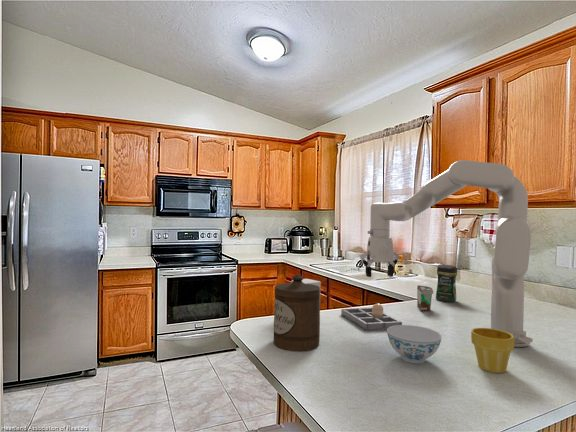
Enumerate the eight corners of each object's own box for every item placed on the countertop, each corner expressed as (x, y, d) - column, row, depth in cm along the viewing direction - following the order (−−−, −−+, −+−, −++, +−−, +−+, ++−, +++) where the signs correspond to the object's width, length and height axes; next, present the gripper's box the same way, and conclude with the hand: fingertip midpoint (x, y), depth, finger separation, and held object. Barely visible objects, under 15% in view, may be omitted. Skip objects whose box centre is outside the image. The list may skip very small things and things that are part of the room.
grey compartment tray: (401, 328, 133) (402, 321, 133) (365, 330, 129) (365, 323, 129) (373, 313, 154) (373, 307, 154) (341, 314, 150) (341, 308, 151)
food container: (435, 313, 158) (436, 290, 158) (421, 312, 159) (421, 289, 159) (430, 306, 170) (430, 285, 170) (416, 305, 171) (417, 285, 171)
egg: (385, 320, 141) (385, 304, 141) (375, 320, 140) (375, 305, 140) (379, 317, 145) (380, 302, 145) (369, 317, 144) (370, 302, 144)
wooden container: (267, 337, 119) (269, 272, 119) (308, 334, 124) (309, 270, 124) (282, 353, 105) (284, 279, 105) (327, 348, 110) (329, 277, 110)
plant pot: (465, 367, 98) (465, 332, 99) (477, 358, 106) (478, 325, 106) (507, 380, 91) (508, 341, 91) (518, 369, 98) (518, 333, 98)
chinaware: (398, 346, 114) (398, 322, 114) (447, 358, 105) (448, 332, 105) (377, 359, 102) (378, 332, 103) (431, 374, 93) (431, 345, 93)
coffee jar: (433, 300, 185) (434, 264, 185) (439, 297, 191) (439, 263, 191) (453, 303, 179) (454, 266, 179) (458, 301, 184) (459, 265, 185)
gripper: (364, 233, 137) (364, 278, 137) (404, 234, 142) (404, 277, 141) (356, 233, 144) (355, 275, 144) (394, 233, 149) (393, 274, 149)
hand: (379, 276), depth 143 cm, fingers open, 9 cm apart
